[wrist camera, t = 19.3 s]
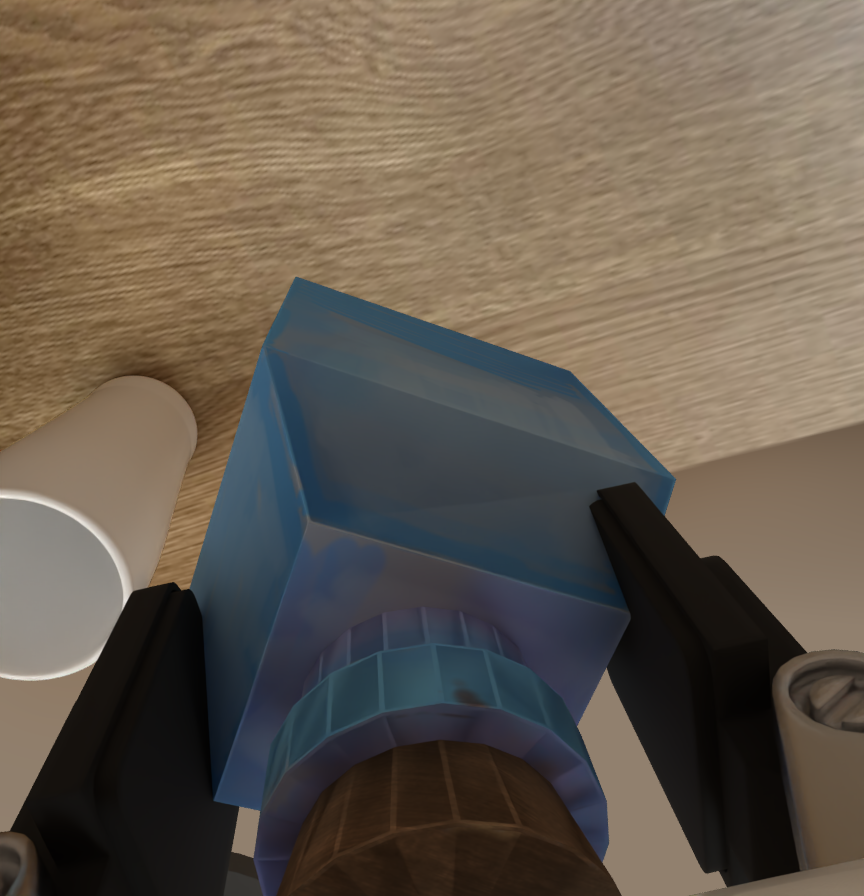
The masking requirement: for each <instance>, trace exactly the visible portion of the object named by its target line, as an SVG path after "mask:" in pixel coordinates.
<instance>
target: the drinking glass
mask: <svg viewBox="0 0 864 896" xmlns="http://www.w3.org/2000/svg"><path fill="white" fill-rule="evenodd" d="M196 444H197V424H196V420H195V417H194V414H193V412H192V410H191V408H190V406H189V405H188V403H187V402H186V400H185V399H184V398H183V397H182V396H181V395H180V394H179V393H178V392H177V391H176V390H174V389H173V388H172V387H170V386H169V385H167V384H165V383H163V382H161V381H159V380H156V379H153V378H150V377H145V376H122V377H118V378H115V379H112V380H109V381H107V382H105V383H103V384H102V385H100V386H99V387H97V388H96V389H95V390H94V391H92V392H91V393H90V394H89V395H88V396H87V397H86V398H84V399H83V400H81V401H80V402H78V403H77V404H75V405H74V406H72V407H70V408H69V409H67V410H66V411H64V412H62V413H61V414H59V415H58V416H56V417H54V418H53V419H51V420H50V421H48V422H46V423H45V424H43V425H41V426H40V427H38V428H37V429H35V430H33V431H32V432H30V433H28V434H27V435H25V436H23V437H22V438H20V439H19V440H17V441H15V442H14V443H12V444H11V445H9V446H7V447H6V448H4V449H3V450H1V451H0V677H1V678H7V679H13V680H31V681H33V680H34V681H35V680H47V679H53V678H58V677H63V676H66V675H69V674H72V673H75V672H78V671H80V670H82V669H85V668H86V667H88V666H90V665H92V664H93V663H95V662H96V661H97V660H98V658H99V656H100V654H101V652H102V650H103V648H104V646H105V644H106V642H107V640H108V638H109V636H110V634H111V632H112V630H113V628H114V626H115V624H116V622H117V620H118V618H119V616H120V614H121V612H122V610H123V608H124V606H125V604H126V602H127V600H128V598H129V596H130V594H131V593H132V592H133V591H135V590H139V589H144V588H148V587H149V584H150V582H151V580H152V578H153V575H154V573H155V571H156V568H157V566H158V563H159V561H160V558H161V555H162V552H163V549H164V545H165V542H166V539H167V536H168V532H169V528H170V525H171V521H172V518H173V514H174V511H175V507H176V503H177V500H178V496H179V493H180V489H181V486H182V483H183V479H184V476H185V473H186V469H187V466H188V464H189V462H190V460H191V458H192V456H193V454H194V451H195V448H196Z"/></svg>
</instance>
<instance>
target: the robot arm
mask: <svg viewBox="0 0 864 896" xmlns="http://www.w3.org/2000/svg"><path fill="white" fill-rule="evenodd" d="M597 493H598V495H599V497H600V498H601V499H600V500H597V501H595V502H593V503H592V504H591V505H590V506H589V507H590V510H591V513H592V515H593V518H594V520H595V523H596V526H597V528H598V531H599V534H600V536H601V539H602V541H603V544H604V547H605V549H606V552H607V554H608V557H609V560H610V562H611V565H612V567H613V570H614V573H615V575H616V578H617V581H618V583H619V586H620V588H621V591H622V594H623V596H624V599H625V601H626V604H627V607H628V609H629V612H630V616H631V620H630V622H629V624H628V626H627V627H626V629H625V631H624V633H623V635H622V637H621V639H620V641H619V643H618V645H617V647H616V649H615V651H614V653H613V655H612V657H611V659H610V661H609V663H608V665H607V670H608V673H609V676H610V679H611V681H612V684H613V686H614V688H615V690H616V692H617V694H618V696H619V698H620V701H621V703H622V705H623V707H624V708H625V711H626V713H627V715H628V717H629V719H630V721H631V723H632V725H633V727H634V730H635V732H636V734H637V736H638V738H639V740H640V742H641V744H642V746H643V748H644V750H645V753H646V755H647V757H648V759H649V761H650V763H651V765H652V767H653V769H654V771H655V773H656V775H657V777H658V780H659V781H660V784H661V786H662V788H663V790H664V792H665V794H666V796H667V798H668V800H669V802H670V804H671V807H672V809H673V811H674V813H675V815H676V817H677V819H678V821H679V823H680V825H681V827H682V830H683V832H684V834H685V836H686V838H687V840H688V842H689V844H690V846H691V848H692V850H693V852H694V854H695V857H696V859H697V860H698V863H699V864H700V867H701V868H702V870H703V871H704V872H705V873H711V872H716V871H719V872H720V874H721V876H722V878H723V880H724V882H725V884H726V886H727V888H722V889H718V890H713V891H709V892H704V893H699V894H695V895H690V896H864V653H862V652H858V651H848V650H835V649H834V650H823V651H813V652H809V653H807V652H806V651H805V650H804V649H803V648H802V646H801V645H800V644H799V643H798V642H797V641H796V640H795V639H794V637H793V636H792V635H791V634H790V633H789V632H788V631H787V630H786V629H785V627H784V626H783V625H782V624H781V623H780V622H779V621H778V620H777V619H776V617H775V616H774V615H773V614H772V613H771V612H770V611H769V610H768V609H767V607H765V605H764V604H763V603H762V602H761V601H760V600H759V598H758V597H757V596H756V595H755V594H754V593H753V592H752V591H751V590H750V588H749V587H748V586H747V585H746V584H745V583H744V582H743V581H742V580H741V578H740V577H739V576H738V575H737V574H736V573H735V572H734V571H733V570H732V568H731V567H730V566H729V565H728V564H727V563H726V562H725V561H724V560H723V559H722V558H720V557H719V556H710V557H705V558H699V556H698V555H697V554H696V553H695V552H694V551H693V549H692V548H691V547H690V546H689V545H688V543H687V542H686V541H685V540H684V539H683V538H682V536H681V535H680V534H679V533H678V532H677V530H676V529H675V528H674V527H673V526H672V524H671V523H670V522H669V521H668V520H667V519H666V518H665V516H664V515H663V514H662V513H661V511H660V510H659V509H658V508H657V507H656V505H655V504H654V503H653V502H652V501H651V499H650V498H649V497H648V496H647V495H646V494H645V492H644V491H643V490H642V489H641V488H640V486H639V485H638V484H637V483H635V482H632V483H627V484H623V485H618V486H613V487H609V488H604V489H600V490H597ZM238 811H239V806H235V805H230V804H226V803H221V802H216V801H213V792H212V775H211V757H210V740H209V723H208V706H207V689H206V671H205V654H204V637H203V620H202V614H201V611H200V609H199V606H198V603H197V600H196V598H195V595H194V593H193V592H192V590H190V589H186V590H182V591H181V590H180V588H179V587H178V585H177V584H175V583H174V582H172V583H167V584H162V585H158V586H153V587H149V588H144V589H139V590H135V591H133V592H132V593H131V594H130V596H129V598H128V600H127V602H126V604H125V606H124V608H123V610H122V612H121V614H120V616H119V618H118V620H117V622H116V624H115V626H114V628H113V630H112V632H111V634H110V636H109V638H108V640H107V642H106V644H105V646H104V648H103V650H102V652H101V654H100V656H99V658H98V660H97V661H96V663H95V665H94V668H93V669H92V671H91V673H90V675H89V677H88V679H87V681H86V683H85V685H84V687H83V689H82V691H81V693H80V695H79V697H78V699H77V701H76V702H75V704H74V706H73V708H72V710H71V712H70V714H69V716H68V718H67V720H66V721H65V723H64V726H63V727H62V730H61V732H60V733H59V736H58V737H57V739H56V741H55V743H54V745H53V747H52V749H51V751H50V753H49V755H48V757H47V759H46V761H45V763H44V765H43V767H42V769H41V771H40V773H39V775H38V777H37V779H36V781H35V783H34V785H33V786H32V789H31V790H30V793H29V795H28V796H27V798H26V800H25V802H24V804H23V806H22V808H21V810H20V812H19V814H18V816H17V818H16V820H15V822H14V824H13V826H12V828H11V830H10V831H8V832H0V896H224V890H225V884H226V879H227V873H228V867H229V862H230V856H231V850H232V844H233V839H234V834H235V828H236V822H237V816H238Z"/></svg>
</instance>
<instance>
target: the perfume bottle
mask: <svg viewBox="0 0 864 896" xmlns="http://www.w3.org/2000/svg"><path fill="white" fill-rule="evenodd" d="M675 481H676V479H675V478H674V477H673V476H672V475H671V473H670V472H669V471H668V470H667V469H666V468H665V467H664V466H663V465H662V464H661V463H660V462H659V461H658V460H657V459H656V458H655V457H654V456H653V455H652V454H651V453H650V452H649V451H648V450H647V449H646V448H645V447H644V446H643V445H642V444H641V443H640V442H639V441H638V440H637V439H636V438H635V437H634V436H633V435H632V434H631V433H630V432H629V431H628V430H627V429H626V428H625V427H624V426H623V425H622V424H621V423H620V422H619V421H618V420H617V418H616V417H615V416H614V415H613V414H612V413H611V412H610V411H609V410H608V409H607V408H606V407H605V406H604V405H603V404H602V403H601V402H600V401H599V400H598V399H597V398H596V397H595V396H594V395H593V394H592V393H591V392H590V391H589V390H588V389H587V388H586V387H585V386H584V385H583V384H582V383H581V382H580V381H579V380H578V379H577V378H576V377H575V376H574V375H573V374H572V373H571V372H570V371H568V370H565V369H562V368H559V367H556V366H553V365H551V364H548V363H545V362H542V361H539V360H536V359H533V358H530V357H527V356H524V355H522V354H519V353H516V352H513V351H510V350H507V349H504V348H501V347H498V346H495V345H493V344H490V343H487V342H484V341H481V340H478V339H475V338H472V337H469V336H467V335H464V334H461V333H458V332H455V331H452V330H449V329H446V328H443V327H440V326H438V325H435V324H432V323H429V322H426V321H423V320H420V319H417V318H414V317H411V316H409V315H406V314H403V313H400V312H397V311H394V310H391V309H388V308H385V307H383V306H380V305H377V304H374V303H371V302H368V301H365V300H362V299H359V298H356V297H354V296H351V295H348V294H345V293H342V292H339V291H336V290H333V289H330V288H328V287H325V286H322V285H319V284H316V283H313V282H310V281H307V280H304V279H301V278H299V277H295V279H294V281H293V283H292V285H291V287H290V289H289V292H288V294H287V296H286V298H285V300H284V302H283V304H282V306H281V308H280V310H279V312H278V314H277V316H276V318H275V320H274V322H273V324H272V327H271V329H270V331H269V333H268V335H267V337H266V339H265V341H264V343H263V345H262V349H261V352H260V355H259V359H258V362H257V365H256V369H255V372H254V375H253V379H252V382H251V385H250V389H249V392H248V395H247V399H246V402H245V405H244V409H243V412H242V415H241V419H240V422H239V425H238V429H237V432H236V435H235V439H234V442H233V445H232V449H231V452H230V455H229V459H228V462H227V466H226V469H225V472H224V476H223V479H222V482H221V486H220V489H219V492H218V496H217V499H216V502H215V506H214V509H213V512H212V516H211V519H210V522H209V526H208V529H207V532H206V536H205V539H204V542H203V546H202V549H201V552H200V556H199V559H198V562H197V566H196V569H195V572H194V576H193V579H192V582H191V586H190V590H192V592H193V593H194V595H195V598H196V600H197V603H198V606H199V609H200V611H201V614H202V620H203V637H204V654H205V671H206V689H207V706H208V723H209V740H210V757H211V775H212V792H213V801H216V802H221V803H226V804H230V805H235V806H240V807H245V808H250V809H254V810H259V811H260V818H259V825H258V832H257V839H256V846H255V852H254V859H253V860H254V864H255V867H256V871H257V875H258V879H259V882H260V886H261V890H262V893H263V896H621V894H620V892H619V890H618V888H617V886H616V884H615V882H614V881H613V879H612V877H611V875H610V874H609V873H608V871H607V869H606V868H605V866H604V865H603V863H602V862H603V859H604V856H605V853H606V850H607V848H608V845H609V835H608V818H607V801H606V798H605V796H604V793H603V790H602V788H601V785H600V783H599V780H598V777H597V775H596V772H595V770H594V767H593V765H592V762H591V759H590V757H589V754H588V752H587V749H586V746H585V744H584V741H583V739H582V736H581V734H580V732H579V730H578V728H577V725H578V723H579V721H580V719H581V717H582V715H583V713H584V711H585V709H586V707H587V705H588V703H589V701H590V699H591V697H592V695H593V693H594V691H595V689H596V687H597V685H598V683H599V681H600V679H601V677H602V675H603V673H604V671H605V669H606V667H607V665H608V663H609V661H610V659H611V657H612V655H613V653H614V651H615V649H616V647H617V645H618V643H619V641H620V639H621V637H622V635H623V633H624V631H625V629H626V627H627V626H628V624H629V622H630V620H631V616H630V612H629V609H628V607H627V604H626V601H625V599H624V596H623V594H622V591H621V588H620V586H619V583H618V581H617V578H616V575H615V573H614V570H613V567H612V565H611V562H610V560H609V557H608V554H607V552H606V549H605V547H604V544H603V541H602V539H601V536H600V534H599V531H598V528H597V526H596V523H595V520H594V518H593V515H592V513H591V510H590V507H589V506H590V505H591V504H592V503H593V502H595V501H597V500H600V499H601V498H600V497H599V495H598V493H597V490H600V489H604V488H609V487H613V486H618V485H623V484H627V483H632V482H635V483H637V484H638V485H639V486H640V488H641V489H642V490H643V491H644V492H645V494H646V495H647V496H648V497H649V498H650V499H651V501H652V502H653V503H654V504H655V505H656V507H657V508H658V509H659V510H660V511H661V513H662V514H663V515H664V516H665V513H666V510H667V506H668V503H669V500H670V497H671V494H672V491H673V487H674V484H675Z"/></svg>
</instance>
